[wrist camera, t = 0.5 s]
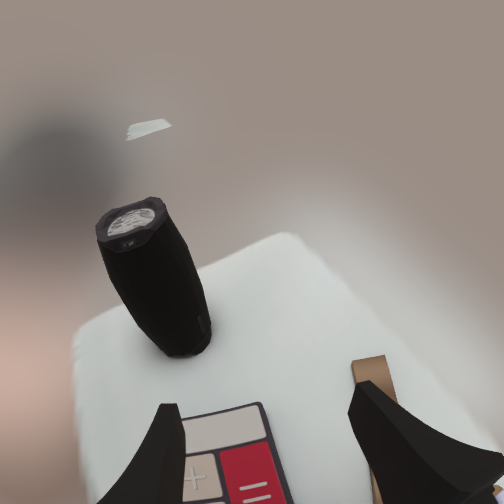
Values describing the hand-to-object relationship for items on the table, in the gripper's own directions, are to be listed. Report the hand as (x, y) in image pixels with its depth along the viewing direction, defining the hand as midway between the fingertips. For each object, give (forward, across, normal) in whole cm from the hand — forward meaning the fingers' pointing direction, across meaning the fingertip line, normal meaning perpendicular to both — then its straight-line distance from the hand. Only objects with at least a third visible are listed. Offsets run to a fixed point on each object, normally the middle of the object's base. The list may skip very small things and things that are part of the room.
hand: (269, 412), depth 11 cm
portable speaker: (+27, +7, +15) cm, 32 cm away
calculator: (+7, +2, +21) cm, 22 cm away
